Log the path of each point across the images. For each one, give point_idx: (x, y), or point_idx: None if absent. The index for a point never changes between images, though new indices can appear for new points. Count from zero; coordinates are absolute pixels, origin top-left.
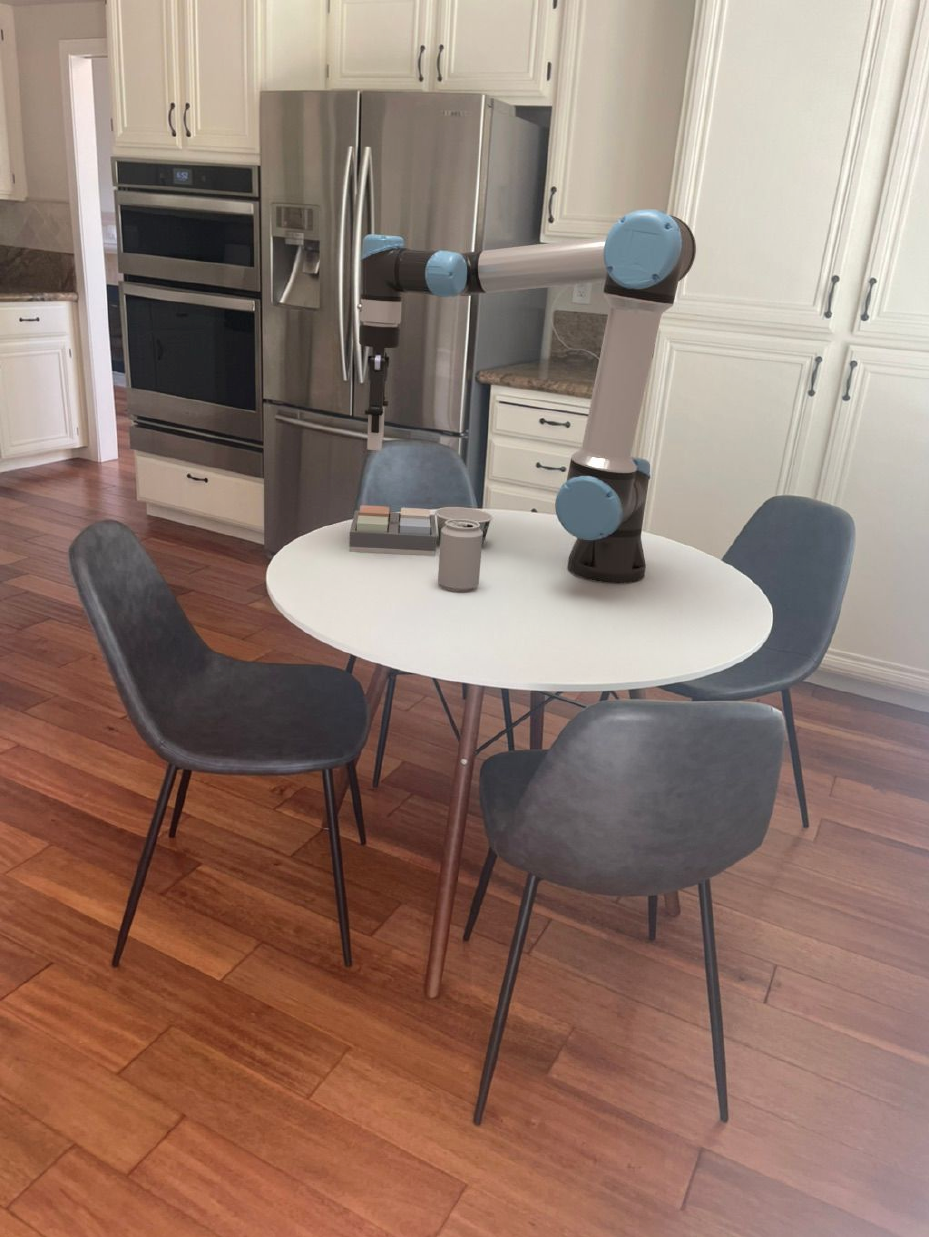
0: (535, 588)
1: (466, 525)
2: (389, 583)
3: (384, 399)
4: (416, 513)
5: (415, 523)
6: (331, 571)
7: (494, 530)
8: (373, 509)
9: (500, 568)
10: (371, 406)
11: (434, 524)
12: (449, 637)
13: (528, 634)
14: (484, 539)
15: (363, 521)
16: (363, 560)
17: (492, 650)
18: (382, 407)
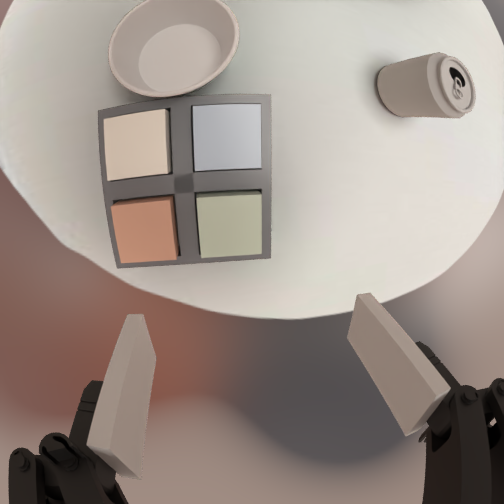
0: (379, 4)
1: (458, 78)
2: (395, 179)
3: (27, 460)
4: (147, 140)
5: (236, 135)
6: (356, 255)
7: (82, 26)
8: (143, 235)
9: (308, 14)
10: (489, 424)
11: (174, 99)
12: (489, 140)
13: (478, 72)
14: (194, 17)
15: (246, 243)
16: (306, 218)
17: (498, 114)
18: (463, 422)
